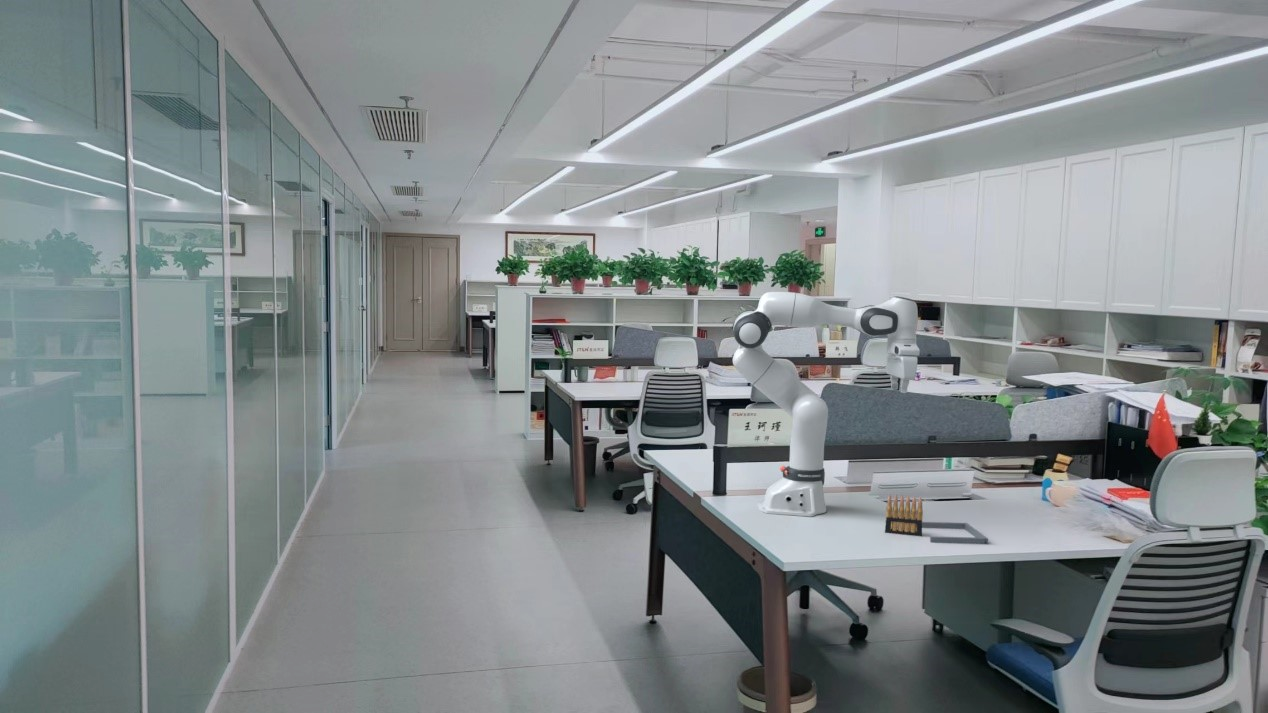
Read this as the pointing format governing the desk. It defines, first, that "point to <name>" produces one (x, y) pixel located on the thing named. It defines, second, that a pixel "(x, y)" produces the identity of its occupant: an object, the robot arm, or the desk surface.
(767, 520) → the desk surface
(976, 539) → the grey frame
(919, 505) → the ammunition clip
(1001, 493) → the desk surface
